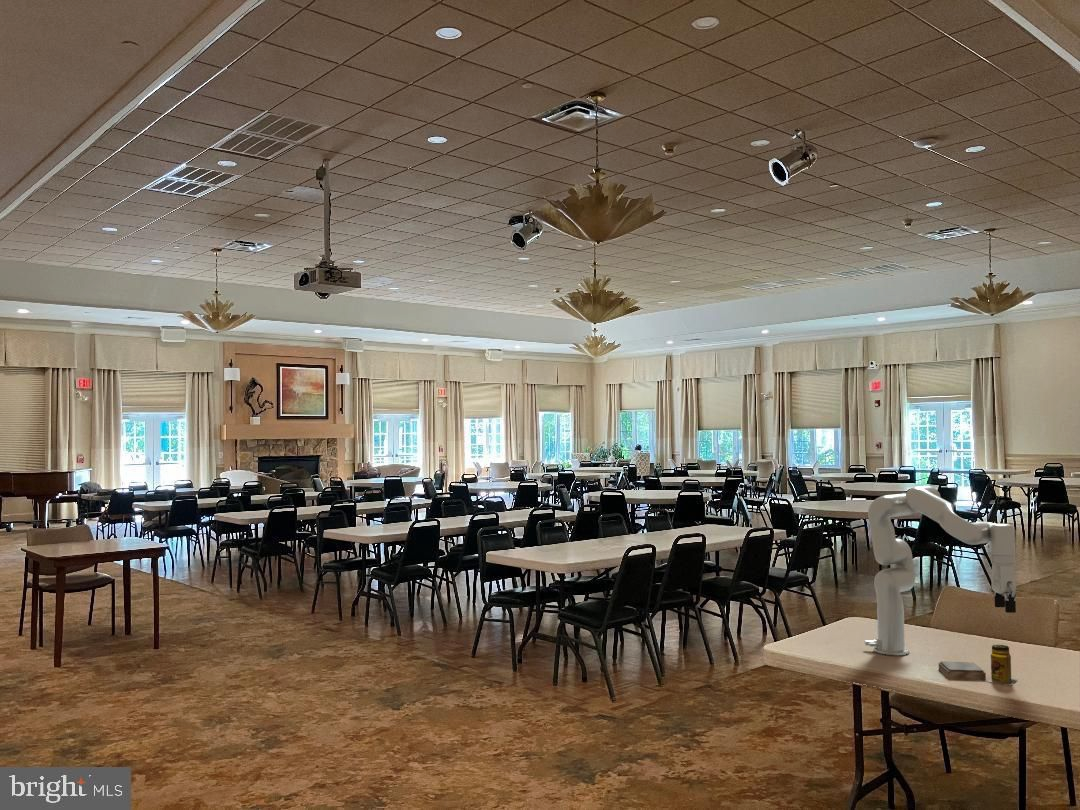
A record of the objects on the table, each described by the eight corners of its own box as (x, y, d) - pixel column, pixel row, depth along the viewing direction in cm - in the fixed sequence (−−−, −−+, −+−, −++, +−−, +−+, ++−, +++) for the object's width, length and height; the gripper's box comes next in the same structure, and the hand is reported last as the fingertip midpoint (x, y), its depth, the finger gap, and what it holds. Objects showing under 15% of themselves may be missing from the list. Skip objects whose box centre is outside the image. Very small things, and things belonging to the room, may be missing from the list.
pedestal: (948, 678, 309) (948, 669, 309) (938, 669, 321) (938, 660, 321) (985, 679, 307) (985, 670, 307) (974, 670, 319) (974, 661, 319)
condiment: (987, 682, 305) (986, 646, 305) (994, 676, 311) (993, 641, 311) (1011, 686, 300) (1010, 649, 300) (1017, 680, 306) (1016, 644, 307)
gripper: (983, 556, 322) (984, 605, 321) (1001, 563, 305) (1003, 614, 304) (1005, 556, 321) (1007, 605, 320) (1024, 563, 304) (1026, 614, 303)
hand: (1005, 609), depth 312 cm, fingers open, 9 cm apart
